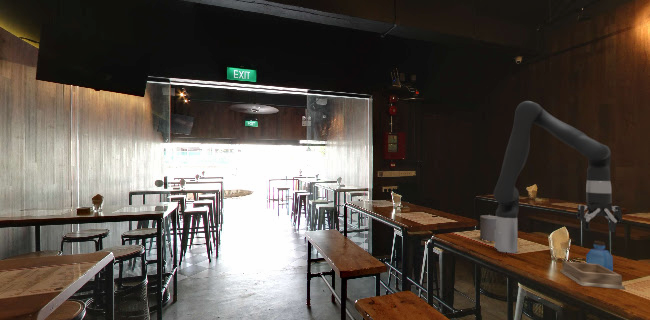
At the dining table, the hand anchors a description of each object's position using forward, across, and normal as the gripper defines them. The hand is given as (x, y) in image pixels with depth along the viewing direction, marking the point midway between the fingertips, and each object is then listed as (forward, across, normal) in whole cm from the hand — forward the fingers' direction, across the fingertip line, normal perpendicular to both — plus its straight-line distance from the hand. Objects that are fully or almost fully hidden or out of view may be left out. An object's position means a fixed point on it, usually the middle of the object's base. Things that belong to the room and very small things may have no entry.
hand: (599, 230), depth 117 cm
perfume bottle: (+17, 0, 0) cm, 17 cm away
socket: (+17, -10, -12) cm, 23 cm away
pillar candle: (+16, -29, +40) cm, 52 cm away
